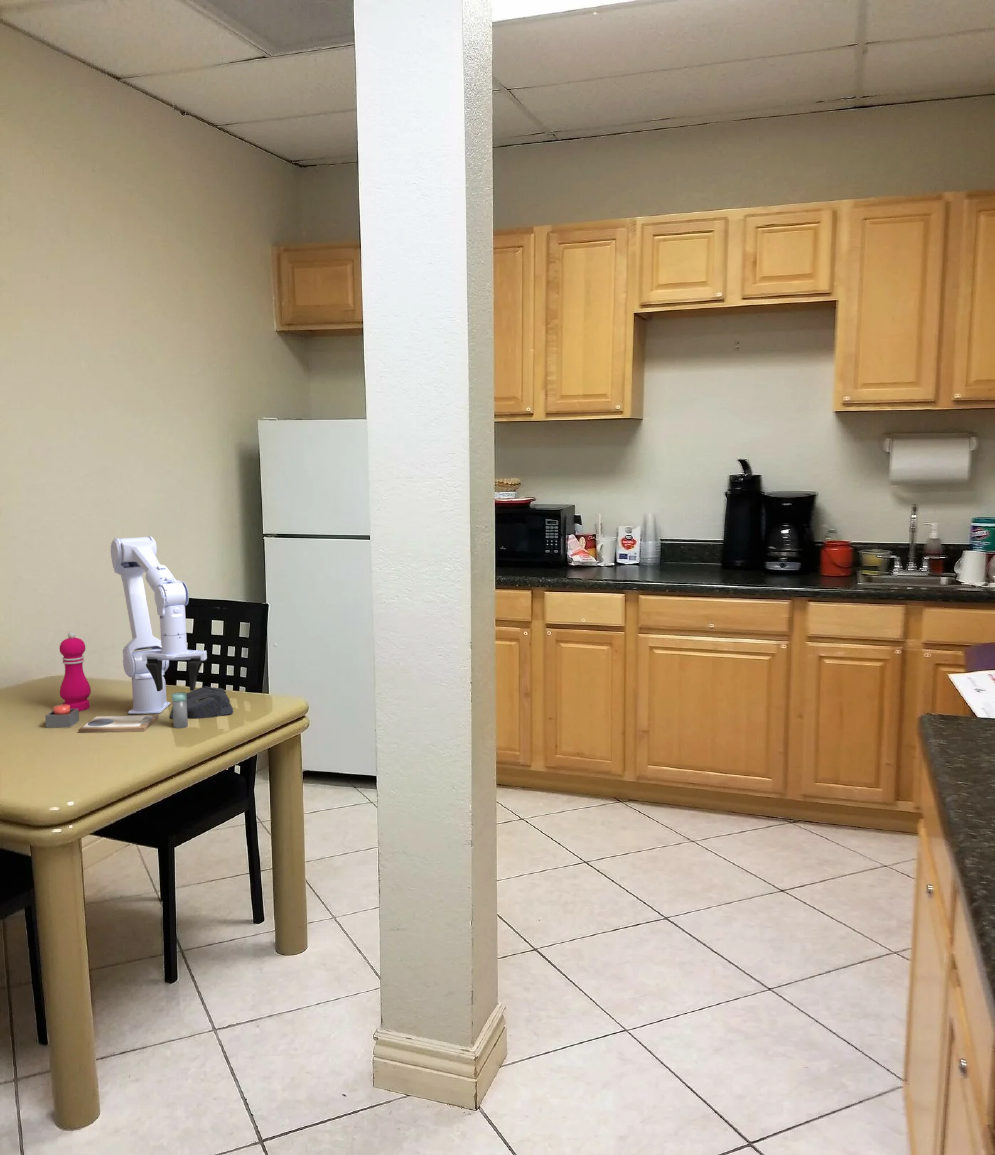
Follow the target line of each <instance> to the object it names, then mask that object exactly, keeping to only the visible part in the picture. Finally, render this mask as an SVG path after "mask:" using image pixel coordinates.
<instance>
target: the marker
mask: <svg viewBox="0 0 995 1155" xmlns="http://www.w3.org/2000/svg"><path fill="white" fill-rule="evenodd" d="M186 693H187V692H185V691H176V692H173V693H171V701H172V707H173V719H172V720H173V728H175V729H184V728H188V724H189V723H188V720H189V719H187V695H186Z"/></svg>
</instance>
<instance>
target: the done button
mask: <svg viewBox="0 0 995 1155" xmlns="http://www.w3.org/2000/svg"><path fill="white" fill-rule="evenodd" d="M52 709H53V710H54V715H68V714H69V713H70V705H67V704H63V703H62V704H57V705H54V706H53V708H52Z"/></svg>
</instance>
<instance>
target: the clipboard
mask: <svg viewBox="0 0 995 1155" xmlns="http://www.w3.org/2000/svg"><path fill="white" fill-rule="evenodd" d="M157 719H159V715H158V714H148V715H147V714H131V715H99V716H98V715H97V716H96V715H95V716H94V717H93V718H92V719H90V720H89V721H87V722H86V723H85V724H83V725H82V726H81V727H80V728H78V733H79V734H81V733H82V734H83V733H84V734H85V733H87V734H88V733H89V734H90V733H123V732H124V733H125V732H127V733H128V732H129V733H130V732H131V733H132V732H133V733H134V732H146V730H148V728H149V727H151V725H153V724H154V723H155V722H156V721H157Z"/></svg>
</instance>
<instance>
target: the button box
mask: <svg viewBox="0 0 995 1155" xmlns="http://www.w3.org/2000/svg"><path fill="white" fill-rule="evenodd" d="M79 712H80V711H78V709H70V713H69V714H68V715H54V709H53V710H51V711H49V712H48V713H46V715H45V728H47V729H49V728H50V729H52V728H55V729H56V728H71V727H73V726H74V725H76V724H77V723H78V722H79V721H80V714H79Z"/></svg>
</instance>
